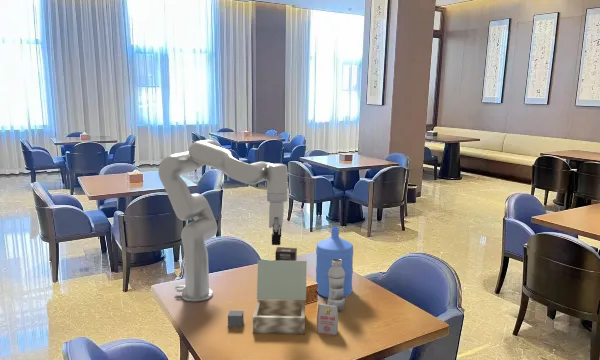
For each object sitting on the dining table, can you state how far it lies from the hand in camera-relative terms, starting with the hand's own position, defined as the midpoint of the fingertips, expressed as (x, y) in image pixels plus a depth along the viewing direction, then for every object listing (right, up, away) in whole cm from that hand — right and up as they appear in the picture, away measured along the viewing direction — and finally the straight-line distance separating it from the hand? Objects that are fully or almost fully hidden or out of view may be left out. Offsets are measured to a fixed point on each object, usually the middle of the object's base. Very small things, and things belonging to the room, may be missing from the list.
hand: (276, 240), depth 172 cm
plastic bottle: (+23, -28, +5) cm, 36 cm away
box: (+2, -29, -7) cm, 30 cm away
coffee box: (+3, -23, +29) cm, 37 cm away
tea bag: (+19, -31, -13) cm, 38 cm away
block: (-14, -29, -8) cm, 34 cm away
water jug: (+23, -25, +22) cm, 40 cm away
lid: (+2, -15, 0) cm, 15 cm away
